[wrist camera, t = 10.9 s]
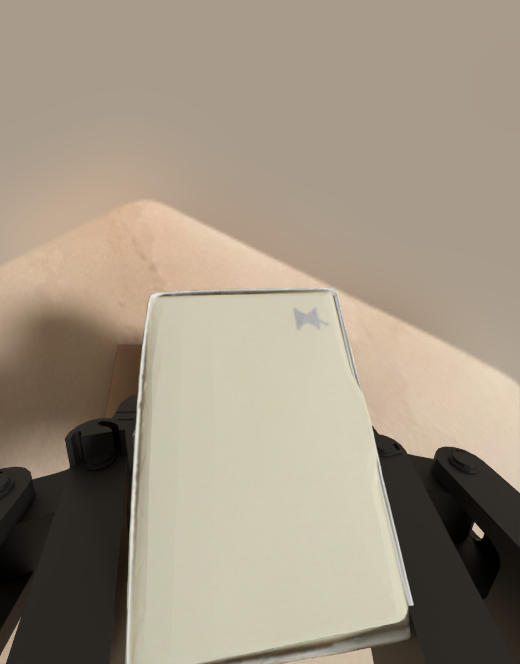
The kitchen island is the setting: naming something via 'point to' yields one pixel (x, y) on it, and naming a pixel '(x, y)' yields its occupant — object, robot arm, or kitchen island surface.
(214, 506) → the skincare box
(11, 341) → the kitchen island surface
